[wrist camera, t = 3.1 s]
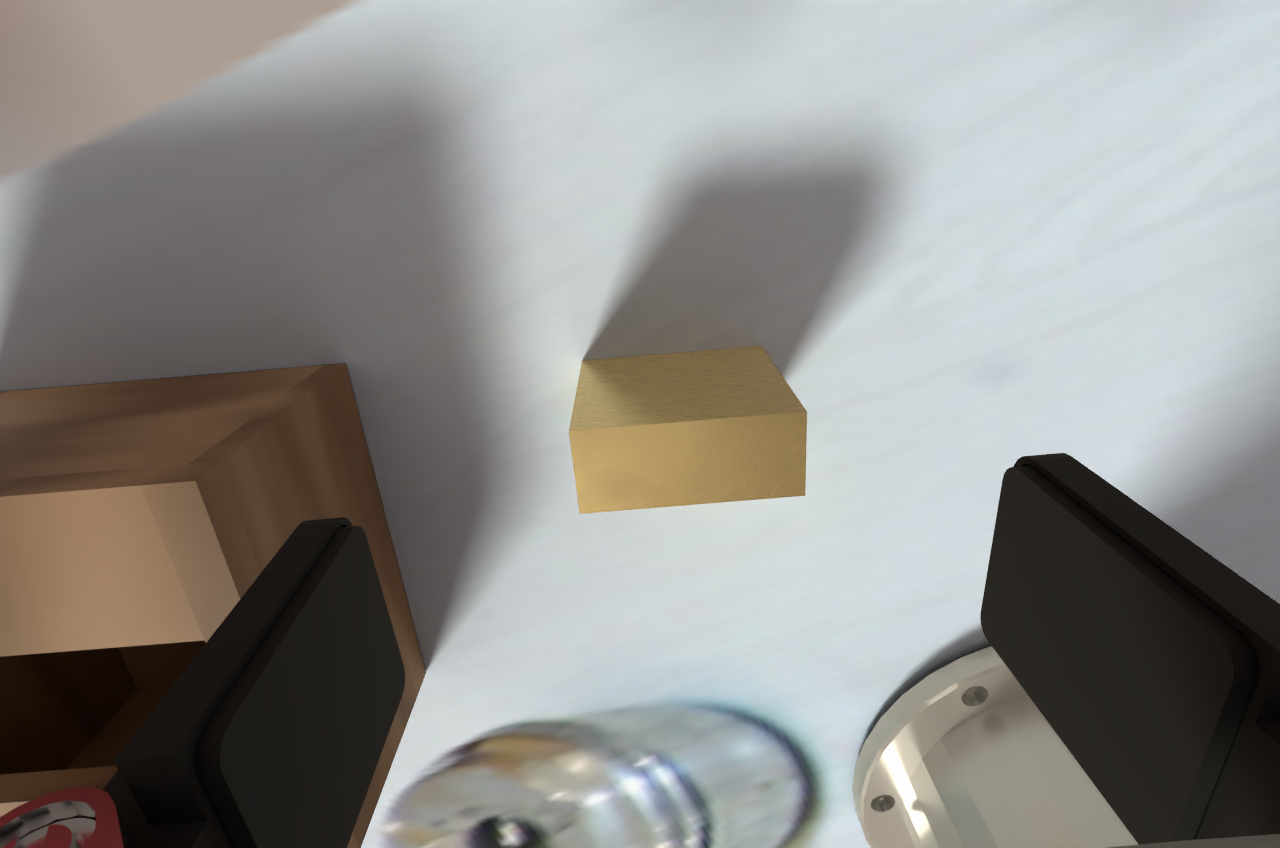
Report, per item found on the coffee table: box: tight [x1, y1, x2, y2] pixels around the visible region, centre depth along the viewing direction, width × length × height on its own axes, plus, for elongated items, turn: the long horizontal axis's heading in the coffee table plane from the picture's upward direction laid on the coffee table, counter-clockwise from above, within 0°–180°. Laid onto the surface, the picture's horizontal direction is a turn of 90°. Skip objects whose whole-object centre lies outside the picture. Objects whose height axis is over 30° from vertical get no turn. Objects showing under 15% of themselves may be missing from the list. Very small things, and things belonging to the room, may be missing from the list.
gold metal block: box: [569, 346, 807, 514], centre depth 17 cm, size 5×2×5 cm, turn 94°
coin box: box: [0, 363, 426, 848], centre depth 17 cm, size 10×11×7 cm
